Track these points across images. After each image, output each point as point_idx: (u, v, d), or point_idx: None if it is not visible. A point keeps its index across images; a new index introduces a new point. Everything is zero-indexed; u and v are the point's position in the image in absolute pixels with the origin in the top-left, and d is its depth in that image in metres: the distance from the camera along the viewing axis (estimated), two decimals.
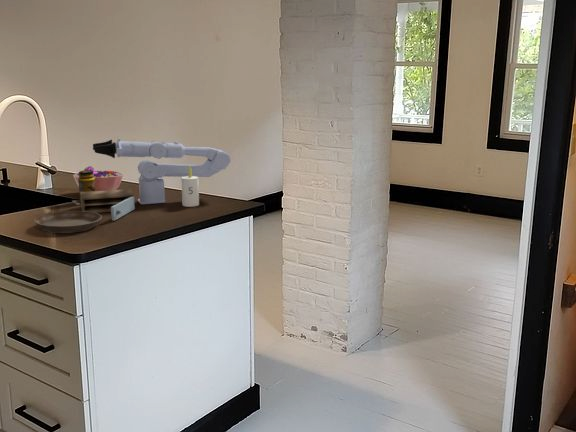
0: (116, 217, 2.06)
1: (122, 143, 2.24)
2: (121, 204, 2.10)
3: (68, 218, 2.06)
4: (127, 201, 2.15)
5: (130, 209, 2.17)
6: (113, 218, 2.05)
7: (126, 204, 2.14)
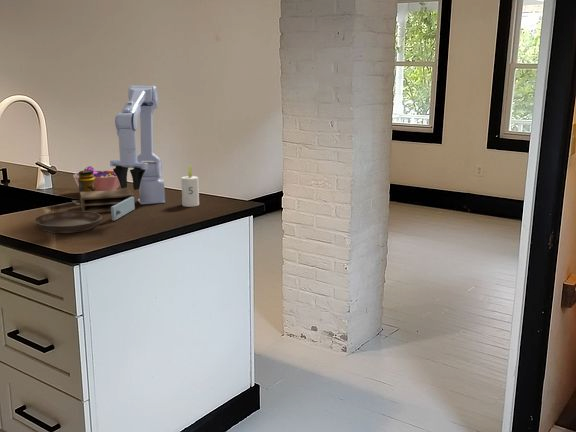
0: (116, 217, 2.06)
1: (128, 160, 2.02)
2: (121, 204, 2.10)
3: (68, 218, 2.06)
4: (127, 201, 2.15)
5: (130, 209, 2.17)
6: (113, 218, 2.05)
7: (126, 204, 2.14)
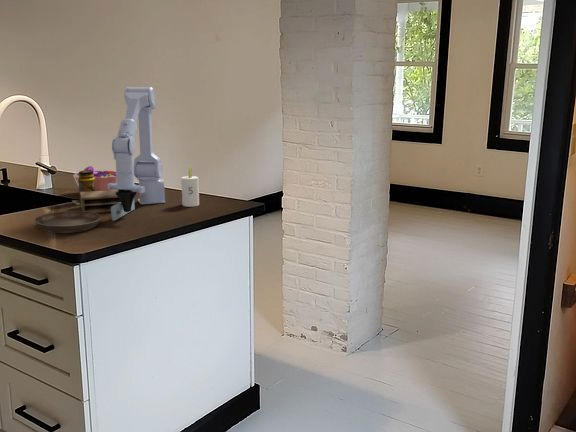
0: (116, 217, 2.06)
1: (125, 184, 2.05)
2: (121, 204, 2.10)
3: (68, 218, 2.06)
4: None
5: None
6: (113, 218, 2.05)
7: None
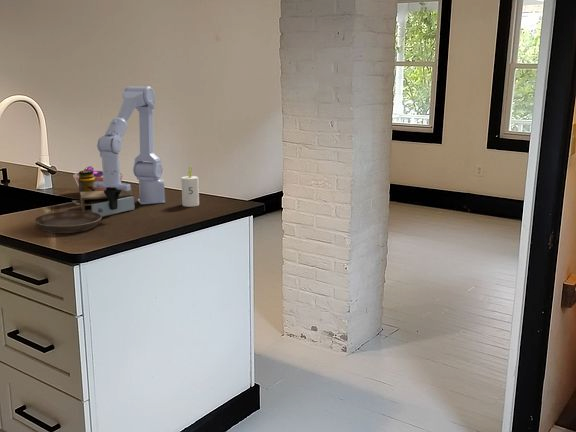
0: None
1: (111, 182, 2.08)
2: (108, 203, 2.12)
3: (68, 218, 2.06)
4: (120, 200, 2.15)
5: (125, 209, 2.18)
6: None
7: None
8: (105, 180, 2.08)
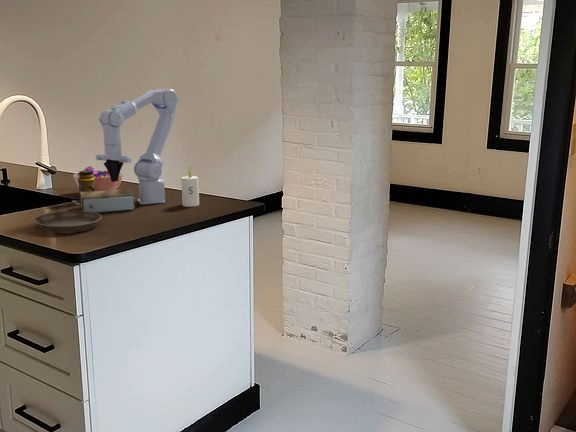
0: (89, 210, 2.15)
1: (112, 154, 2.15)
2: (101, 200, 2.16)
3: (68, 218, 2.06)
4: (116, 199, 2.18)
5: (123, 208, 2.19)
6: (84, 210, 2.15)
7: (113, 202, 2.18)
8: (106, 152, 2.15)
